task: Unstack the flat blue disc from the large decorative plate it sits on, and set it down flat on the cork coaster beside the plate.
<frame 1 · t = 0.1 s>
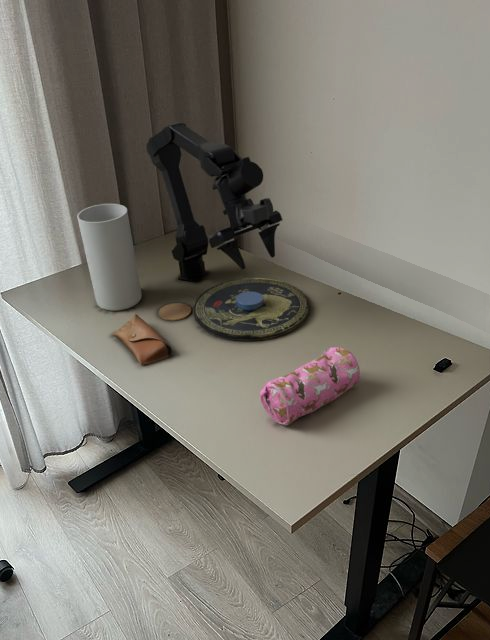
hand: (259, 263, 145), 15 cm above the table, tool tilted 30°, fingers open, 9 cm apart
flat blue disc: (249, 306, 155), point 2 cm above the table, touching decorative plate
sunglasses case: (141, 345, 147), on the table
decorative plate: (250, 310, 157), on the table, touching flat blue disc
pencil case: (310, 402, 125), on the table
cylinder vase: (119, 301, 166), on the table
coaster: (175, 312, 159), on the table
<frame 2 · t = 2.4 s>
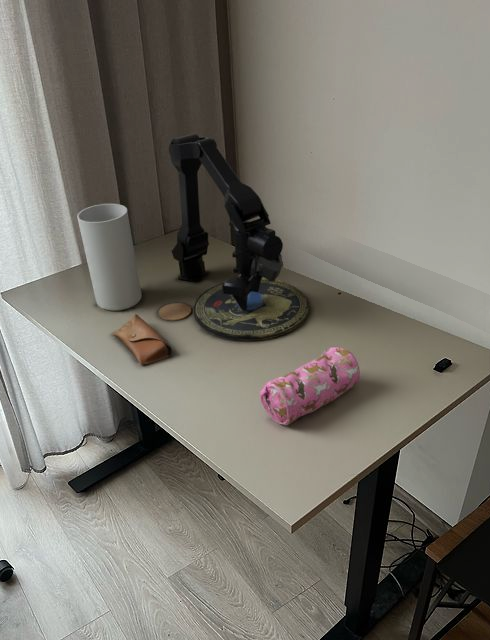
hand: (249, 303, 154), 3 cm above the table, tool pointing down, fingers closed on flat blue disc, 7 cm apart
flat blue disc: (249, 306, 155), point 2 cm above the table, touching decorative plate, gripper
everything else where it was.
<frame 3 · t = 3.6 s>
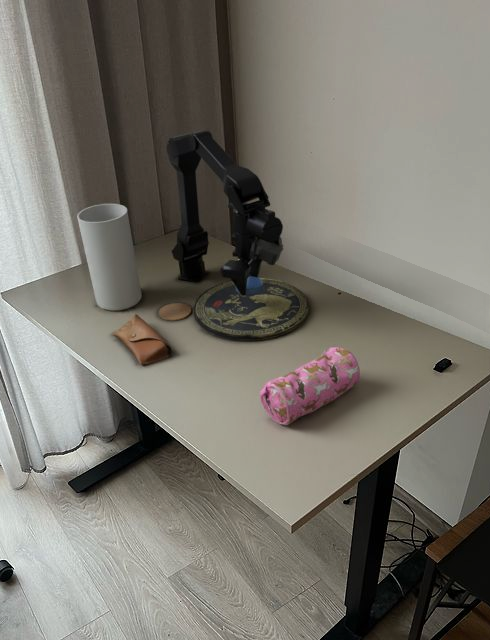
hand: (249, 288, 152), 7 cm above the table, tool pointing down, fingers closed on flat blue disc, 7 cm apart
flat blue disc: (249, 291, 152), point 6 cm above the table, touching gripper
decorative plate: (250, 310, 157), on the table
everything else where it was.
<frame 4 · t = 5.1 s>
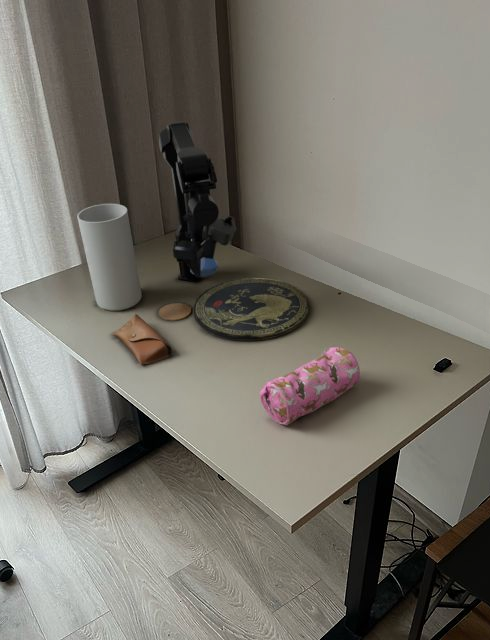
hand: (204, 270, 150), 12 cm above the table, tool pointing down, fingers closed on flat blue disc, 7 cm apart
flat blue disc: (204, 273, 151), point 11 cm above the table, touching gripper
everything else where it was.
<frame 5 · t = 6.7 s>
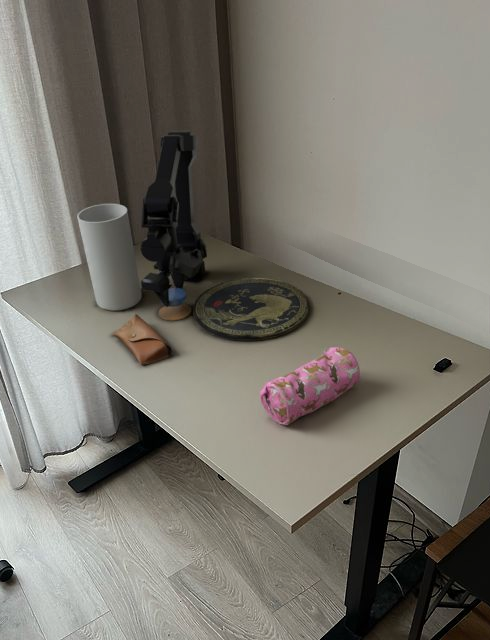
hand: (173, 299, 157), 4 cm above the table, tool pointing down, fingers closed on flat blue disc, 7 cm apart
flat blue disc: (173, 302, 157), point 3 cm above the table, touching gripper
everything else where it was.
when the fingers open (1 cm above the table, at t = 8.0 s): flat blue disc stays where it is, resting on coaster.
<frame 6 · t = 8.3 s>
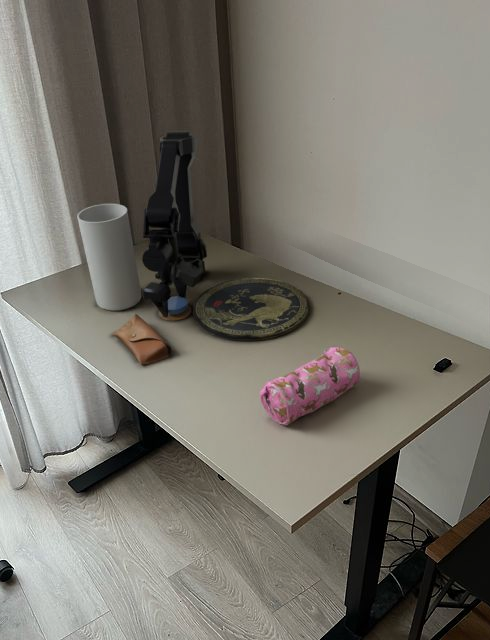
hand: (174, 308, 158), 1 cm above the table, tool pointing down, fingers open, 9 cm apart
flat blue disc: (175, 310, 159), resting on coaster
everything else where it was.
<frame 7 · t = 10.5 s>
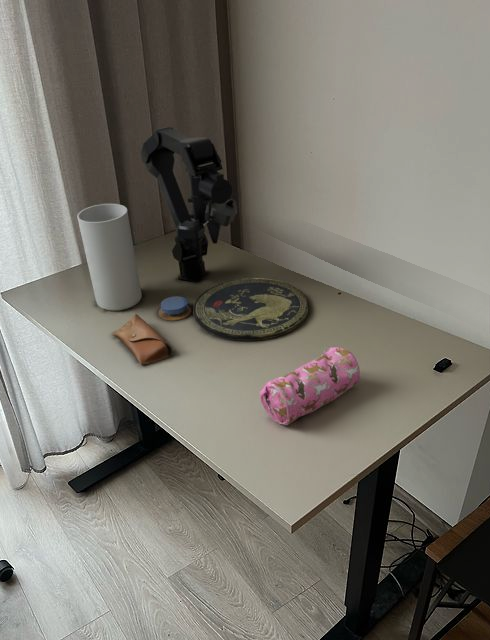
hand: (207, 250, 160), 12 cm above the table, tool pointing down, fingers open, 9 cm apart
nothing on the table moved.
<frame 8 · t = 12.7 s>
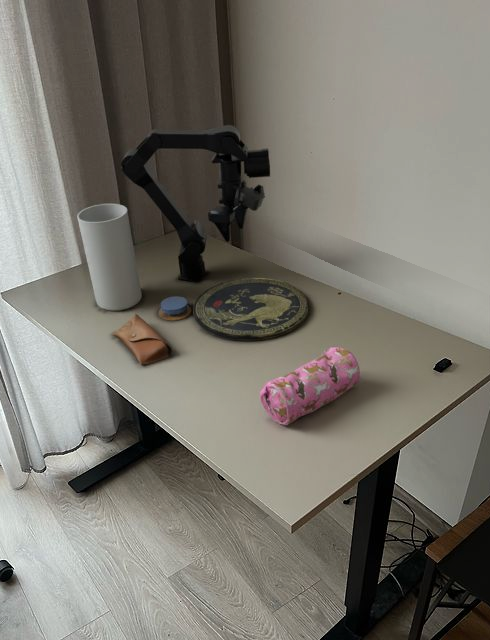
hand: (234, 234, 167), 12 cm above the table, tool pointing down, fingers open, 9 cm apart
nothing on the table moved.
at the end: flat blue disc 0.1 cm off-centre on the coaster, point 0.4 cm above the coaster's base; flat blue disc tilted 0°; the gripper is holding nothing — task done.
